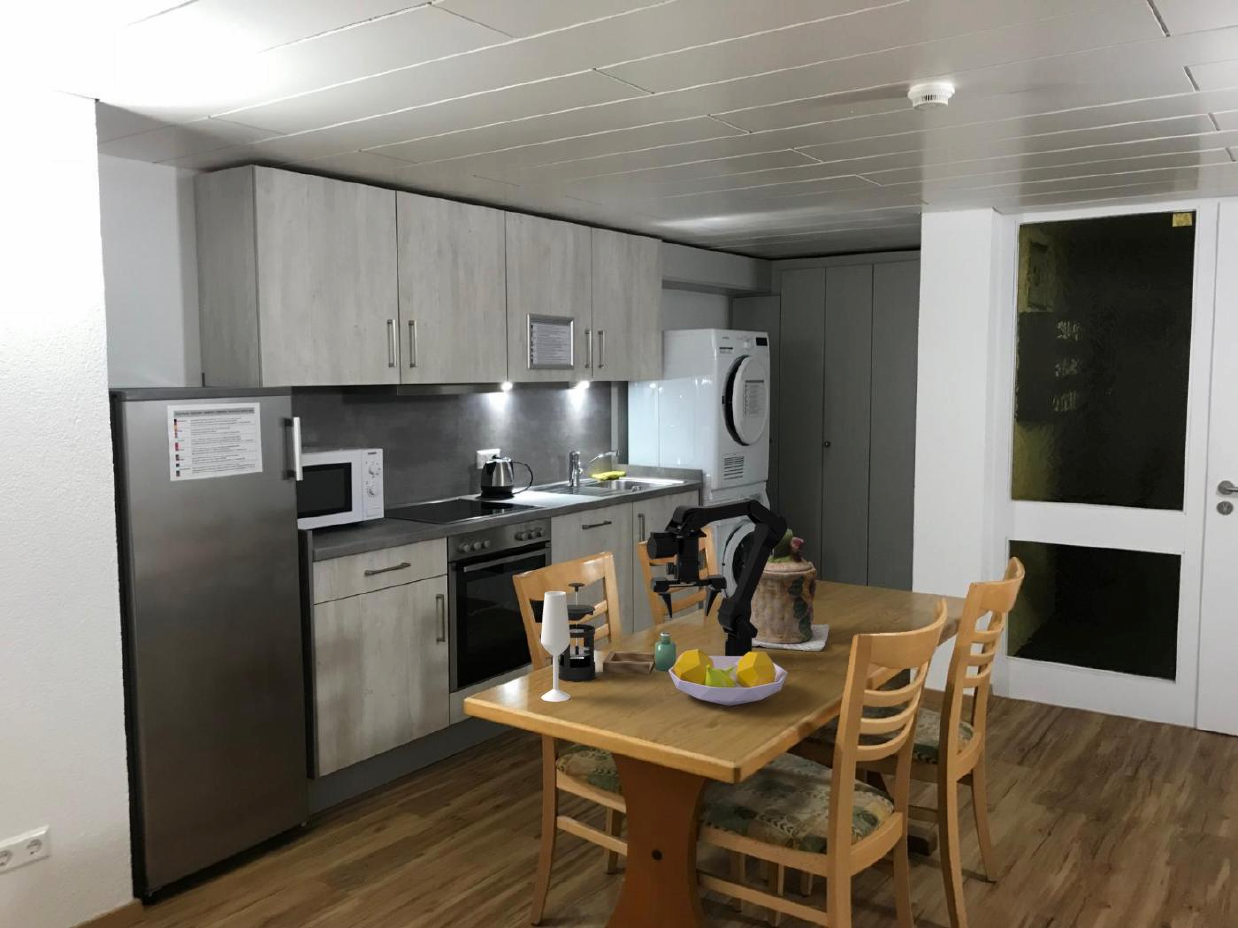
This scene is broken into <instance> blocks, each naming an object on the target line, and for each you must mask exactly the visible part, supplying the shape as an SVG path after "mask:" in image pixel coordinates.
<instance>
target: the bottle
mask: <svg viewBox="0 0 1238 928" xmlns="http://www.w3.org/2000/svg"><path fill="white" fill-rule="evenodd" d="M671 633H672V632H667V631H665V632H661V633H660V641H656V642H655V644H654V645H655V646H654V648H655V649H654V665H655V666H654V670H656V671H658V672H662V673H663V672H665V673H667V672H668V673H669V671H668V670H669V669H671V668H672V667H673V666H674V664H675V663H676V661H677V643H676V642H675V641H671Z"/></svg>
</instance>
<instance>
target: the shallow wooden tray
mask: <svg viewBox="0 0 1238 928" xmlns="http://www.w3.org/2000/svg"><path fill="white" fill-rule="evenodd" d="M654 665H655V652H646V651H645V652H643V651H641V652H640V651H620V650H618V651H614V650H610V651H609V652H608V653H607V656H606V657H605V659H604V660H603V661H602V673H612V674H613V673H614V674H635V673H641V675H650V673H651V670H652V668H653V666H654Z"/></svg>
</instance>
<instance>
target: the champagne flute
mask: <svg viewBox="0 0 1238 928" xmlns="http://www.w3.org/2000/svg"><path fill="white" fill-rule="evenodd" d="M567 605H568V603H567V593H566V592H565V591H562V590H556V591H555V590H554V591H553V590H549V591H546V592H544V600H543V610H542V611H543V612H542V623H541V634H540V635H541V636H540V643H541V645H542V647H543V648H544V650H545V651H547V653H549V655H552V660H553V661H552V669H553V670H552V672H553V673H552V677H553V678H552V680H553V683H552V684H553V687H552V689H551V690H550V691H547V692H546V693H544V695H541V699H542V700H543V701H546V702H554V703H555V702H557V703H558V702H559V703H560V702H565V701H568V700H569V698H570V699H571V697H570V696H571V695H570V694H568V693H567V692H566V691H565V692H564V691H563V690H561V688H560V687H559V678H558V674H559V663H558V655H559V656H560V654H561V653H562V652H563V651H564V650H565V649H566V648H567V647H568V645H569V644H570V645H571V638H570V630H569V624H570V623H569V621H568V611H567Z"/></svg>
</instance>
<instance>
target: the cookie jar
mask: <svg viewBox="0 0 1238 928" xmlns="http://www.w3.org/2000/svg"><path fill="white" fill-rule="evenodd" d="M793 533H794V532H793V530H792V529H790V528H788V530H787V532H786V534H785V536H784V538H783V539H782V541H781V542H780V543H779V544H778V545H777V546H776V547H775V548H774V549H773V554H772V555H771V554H770V556H769V559H768V561H767V564H766V566H765V568H764V571H763V573H762V576H761V578H760V581H759V583H758V586H757V588H756V590H755V593H754V595H753V598H752V600H751V609H752V614H751V618H750V622H751V623H752V624H753V625H754V626H755V627H756V628H757V629H758V633H757V636H756V638H752V647H762V648H766V649H780V650H790V651H791V650H792V651H801V650H803V651H804V652H811V651H817V652H820V651H822V650H823V649H824V647H826V642H827V640H828V636H829V631H830V625H829V624H826V623H825V624H813V620H814V617H815V611H814V605H813V601H814V600H815V597H816V588H817V582H816V580H817V577H818V571H817V569H816V568H815V565H814V564H813V562H812V561H806V560H805V558H803V557H802V556H801V555H800V553H801V552H803V551H804V549H805V541H804V539H803V538H800V537H796V536H793Z"/></svg>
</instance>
